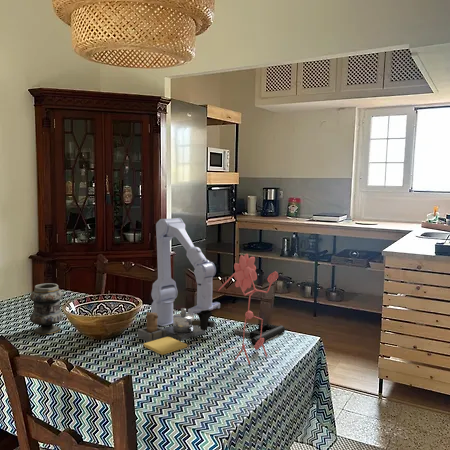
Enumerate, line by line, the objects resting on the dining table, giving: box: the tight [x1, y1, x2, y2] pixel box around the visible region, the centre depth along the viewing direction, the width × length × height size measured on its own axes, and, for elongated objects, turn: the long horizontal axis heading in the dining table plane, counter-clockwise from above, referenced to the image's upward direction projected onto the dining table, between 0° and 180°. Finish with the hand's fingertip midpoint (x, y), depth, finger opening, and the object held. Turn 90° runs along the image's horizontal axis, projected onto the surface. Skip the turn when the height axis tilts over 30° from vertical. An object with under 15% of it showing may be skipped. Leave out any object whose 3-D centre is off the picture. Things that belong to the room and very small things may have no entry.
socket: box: [137, 325, 167, 343], centre depth 169 cm, size 8×8×3 cm
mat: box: [143, 335, 188, 356], centre depth 160 cm, size 11×11×1 cm
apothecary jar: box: [29, 283, 64, 336], centre depth 174 cm, size 12×12×18 cm
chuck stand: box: [162, 325, 206, 341], centre depth 175 cm, size 12×12×2 cm
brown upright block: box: [145, 311, 158, 333], centre depth 169 cm, size 6×4×9 cm, turn 44°
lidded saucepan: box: [172, 307, 216, 332], centre depth 173 cm, size 16×8×8 cm, turn 75°
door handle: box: [233, 322, 286, 346], centre depth 174 cm, size 3×20×16 cm
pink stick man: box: [218, 253, 279, 365], centre depth 152 cm, size 15×26×35 cm, turn 137°
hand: (204, 329), depth 170 cm, fingers closed, pressing on lidded saucepan
